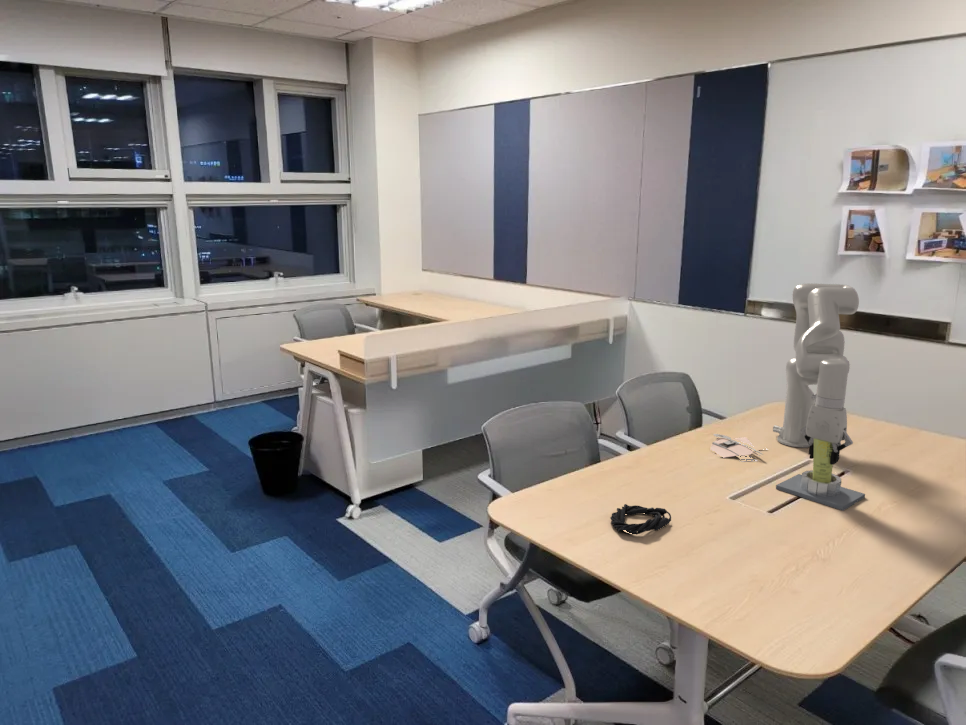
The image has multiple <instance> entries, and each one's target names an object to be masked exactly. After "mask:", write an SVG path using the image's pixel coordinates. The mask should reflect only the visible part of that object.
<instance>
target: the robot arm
mask: <svg viewBox="0 0 966 725" xmlns="http://www.w3.org/2000/svg"><path fill="white" fill-rule="evenodd" d="M792 302H793V306H794V309H795V315H796V318H795V320H796V321H795V328H794V335H793V350H794V351H795V357H792V358H790V359H789V360H788V361H787V362H786V365H785V377H786V392H785V403H784V414H783V423H782V426H779V425H776V424H774V425H773V426H772V432H773V433H778V434H779V435H777V438H776V439H777V442H779V443H780V444H782V445H784V446H788V447H794V448H808V455H809V459H810V460H813V454H814V438H815V439H819V440H822V441H826V442H830V443H832V446H833V451H832V452H831V458H830V464H831V465H833V466H834V465H835V464H837V462H839V461H840V452H841V451H842V450H843V449H845V448H848V447H850V446H851V445H853V444H854V441H853V440H852V438H851V437H850V436H849V434H848V429H847V428H848V416H847V415H848V414H847V409H846V408H845V401H846V393H847V384H848V378H849V377H848V376H849V372H850V369H851V368H850V367H851V366H850V365H851V364H850V360H848V358H847V357H846V356H844V351H845V344H846V343H845V336H844V333H843V332H842V331H841V330H840V329H841V321H840V315H854V314H855V313H857V310H858V309H859V307H860V306H859V304H860V299H859V295H858V292H857V291H856V289H855V288H854V287H852V286H850V285H848V284H839V283H838V284H837V283H835V284H834V283H800V284H798V285H796V286H795V287H794V288H793V290H792ZM809 385H812V386H814V385H815V386H816V394H815V393H814V392H813V390H812V389H811V388H810V387H809ZM843 441H844V443H842V442H843Z"/></svg>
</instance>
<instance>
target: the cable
mask: <svg viewBox="0 0 966 725" xmlns="http://www.w3.org/2000/svg"><path fill="white" fill-rule="evenodd" d="M641 513H645V514H647V515H646V516H653V515H654V516H653V518H649V519H647V520H645V521H644V522H640V523H626V521H625V520H626V515H625V514H627V516H637V515H639V514H641ZM665 514H668V516H669V518H668V517H666V516H665ZM609 518H610V520H611V524H613V527H614V528H615V529H616V528H617V529H618V530H617V529H616V530H617V532H618V531H619V532H620V531H622V530H626V531H627V532H629V533H632V534H636V535H640V534H644V532H650V531H656V530H657V531H658V529H659V530H661V529H663V528H664V527H663V526H665V525H667V524H668V525H669V524H670V522H671V521H672V515H671V513H670V512H669V511H667V509H665V508H661V507H645V506H642V505H641V506H640V505H628V504H627V503H625V504H624V505H623V506H621V508H619V507H617V508H616V512H613V513H611V516H610V517H609ZM668 525H667V526H668ZM662 527H663V528H662ZM665 527H666V526H665ZM660 528H661V529H660Z"/></svg>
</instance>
